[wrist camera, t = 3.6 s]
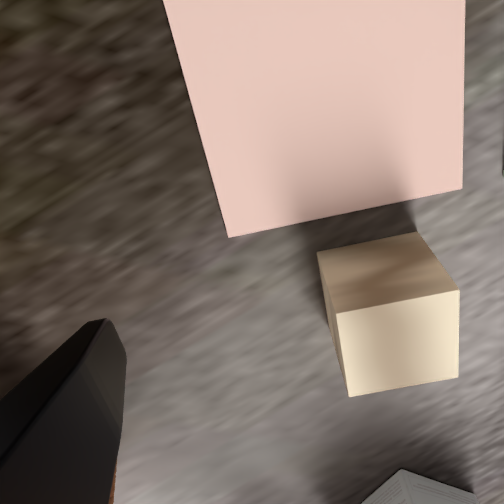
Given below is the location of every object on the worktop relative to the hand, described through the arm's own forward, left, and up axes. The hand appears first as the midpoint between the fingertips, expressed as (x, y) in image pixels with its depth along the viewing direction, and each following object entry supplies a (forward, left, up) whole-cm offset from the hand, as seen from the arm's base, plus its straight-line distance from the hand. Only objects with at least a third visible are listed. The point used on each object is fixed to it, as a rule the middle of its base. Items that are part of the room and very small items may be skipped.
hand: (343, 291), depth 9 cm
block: (-3, +10, -13) cm, 16 cm away
